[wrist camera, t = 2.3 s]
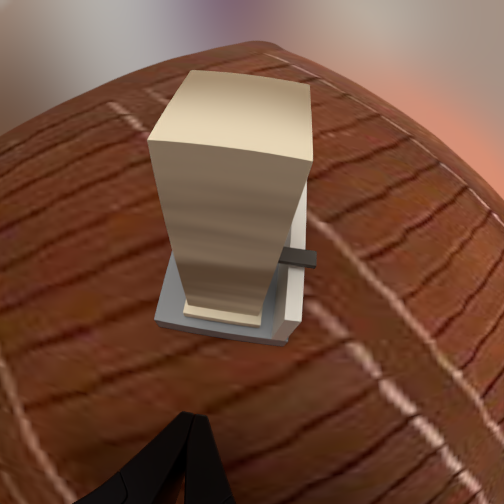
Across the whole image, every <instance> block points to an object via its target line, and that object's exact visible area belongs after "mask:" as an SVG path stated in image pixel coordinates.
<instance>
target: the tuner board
mask: <svg viewBox="0 0 504 504" xmlns="http://www.w3.org/2000/svg"><path fill="white" fill-rule="evenodd" d="M306 198H307V181H306V183H305V186H304V189H303V192H302V195H301V198H300V201H299V204H298V207H297V210H296V213H295V216H294V218H293V221H292V224H291V227H290V230H289V233H288V235H287V238H286V241H285V244H284V246H285V247H291V248H298V249H304V250H305V240H306ZM303 286H304V267H300V266H294V265H287V264H280V263H277V266H276V269H275V272H274V274H273V277H272V280H271V283H270V285H269V288H268V291H267V294H266V296H265V299H264V302H263V308H262V317H261V325H260V328H255V327H248V326H241V325H235V324H228V323H222V322H216V321H210V320H204V319H198V318H193V317H187V316H184V314H183V310H184V306H185V301H186V296H185V293H184V290H183V286H182V283H181V279H180V276H179V272H178V269H177V265H176V262H175V258H174V254H173V250H172V254H171V257H170V261H169V264H168V268H167V272H166V275H165V279H164V283H163V286H162V290H161V294H160V298H159V302H158V306H157V310H156V314H155V318H154V320H155V321H156V323H157V324H158V326H160V327H165V328H170V329H175V330H180V331H185V332H190V333H196V334H201V335H207V336H213V337H219V338H225V339H231V340H238V341H245V342H252V343H259V344H267V345H275V346H284V345H285V344H286V343H287V342H288V337H289V335H290V334H291V333H292V332H293V331H294V330H295V329H296V327H297V326H298V325H299V324H300V323H301V319H302V304H303Z"/></svg>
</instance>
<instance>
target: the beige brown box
mask: <svg viewBox="0 0 504 504" xmlns="http://www.w3.org/2000/svg"><path fill="white" fill-rule="evenodd" d="M147 141H148V146H149V152H150V157H151V161H152V166H153V171H154V176H155V180H156V185H157V189H158V194H159V198H160V203H161V207H162V211H163V215H164V219H165V223H166V227H167V231H168V235H169V239H170V243H171V247H172V250H173V254H174V258H175V262H176V265H177V269H178V272H179V276H180V279H181V283H182V286H183V290H184V293H185V296H186V301H185V306H184V310H183V314H184V316H187V317H193V318H198V319H204V320H210V321H216V322H222V323H228V324H235V325H241V326H248V327H255V328H260V325H261V317H262V308H263V302H264V299H265V296H266V294H267V291H268V288H269V285H270V283H271V280H272V277H273V274H274V272H275V269H276V266H277V263H280V264H287V265H294V266H300V267H307V268H313V269H315V267H316V256H317V252H316V251H310V250H304V249H298V248H291V247H285V246H284V244H285V241H286V238H287V235H288V233H289V230H290V227H291V224H292V221H293V218H294V216H295V213H296V210H297V207H298V204H299V201H300V198H301V195H302V192H303V189H304V186H305V183H306V181H307V178H308V175H309V172H310V169H311V166H312V163H313V145H312V120H311V100H310V85H307V84H302V83H297V82H292V81H286V80H280V79H274V78H268V77H261V76H253V75H245V74H236V73H226V72H214V71H198V70H191V71H190V73H189V74H188V76H187V77H186V79H185V80H184V82H183V83H182V85H181V86H180V87H179V89H178V90H177V92H176V94H175V95H174V97H173V98H172V100H171V101H170V103H169V104H168V106H167V108H166V109H165V111H164V112H163V114H162V116H161V117H160V119H159V121H158V122H157V124H156V126H155V127H154V129H153V131H152V132H151V134H150V136H149V138H148V139H147Z"/></svg>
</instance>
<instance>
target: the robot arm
mask: <svg viewBox="0 0 504 504" xmlns="http://www.w3.org/2000/svg"><path fill="white" fill-rule="evenodd" d="M119 471H120V472H119ZM119 471H118V472H117V473H115V474H114V475H113V476H112V477H111V478H110V479H108V480H107V481H106V482H105V483H103V484H102V485H101V486H100V487H98V488H97V489H95V490H94V491H92V492H91V493H89V494H87V495H86V496H84V497H82V498H81V499H79V500H77V501H76V502H74V503H72V504H175V503H176V500H177V497H178V494H179V491H180V488H181V485H182V482H183V479H184V476H185V495H184V504H236V502H235V499H234V497H233V494H232V491H231V488H230V485H229V482H228V480H227V477H226V474H225V471H224V468H223V465H222V462H221V459H220V455H219V452H218V449H217V446H216V443H215V440H214V436H213V433H212V430H211V426H210V423H209V419H208V417H207V416H206V415H200V414H195V415H194V414H193V413H190V412H185V411H182V412H181V413H179V414H178V415H177V416H176V417H175V418H174V419H173V420H172V421H171V422H170V423H169V424H168V425H167V426H166V427H165V428H164V429H163V430H162V431H161V432H160V433H159V434H158V435H157V436H156V437H155V438H154V439H153V440H152V441H151V442H149V443H148V444H147V445H146V446H145V447H144V448H143V449H142V450H141V451H140V452H139V453H138V454H137V455H135V456H134V457H133V458H132V459H131V460H130V461H129V462H128V463H127V464H126V465H125V466H123V467H122V468H121V469H120V470H119Z"/></svg>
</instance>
